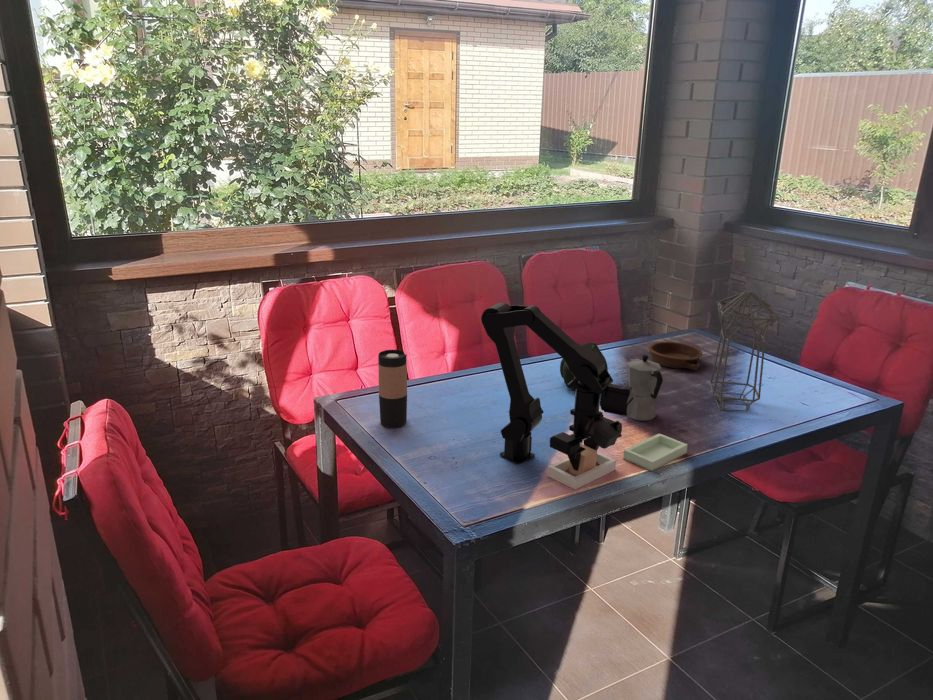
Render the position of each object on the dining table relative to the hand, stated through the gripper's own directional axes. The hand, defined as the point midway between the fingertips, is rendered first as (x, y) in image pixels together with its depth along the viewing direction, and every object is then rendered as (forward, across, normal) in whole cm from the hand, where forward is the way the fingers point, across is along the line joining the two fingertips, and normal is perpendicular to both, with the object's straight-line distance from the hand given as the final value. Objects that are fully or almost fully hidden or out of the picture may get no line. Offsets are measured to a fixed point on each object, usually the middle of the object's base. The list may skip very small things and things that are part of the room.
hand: (582, 466), depth 178 cm
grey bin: (+2, 0, 0) cm, 2 cm away
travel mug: (+2, -18, +52) cm, 55 cm away
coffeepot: (+2, +39, +11) cm, 41 cm away
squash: (+2, +44, +37) cm, 58 cm away
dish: (+2, +85, +31) cm, 90 cm away
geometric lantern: (+2, +66, -2) cm, 66 cm away
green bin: (+2, +21, -6) cm, 22 cm away
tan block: (+2, 0, 0) cm, 2 cm away
